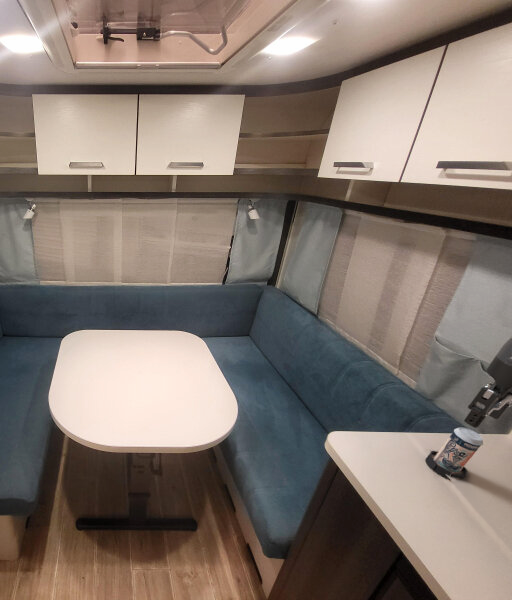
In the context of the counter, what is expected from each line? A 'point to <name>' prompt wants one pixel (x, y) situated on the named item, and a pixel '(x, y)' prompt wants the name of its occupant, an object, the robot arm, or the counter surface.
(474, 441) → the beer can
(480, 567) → the counter surface
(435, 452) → the black ring
